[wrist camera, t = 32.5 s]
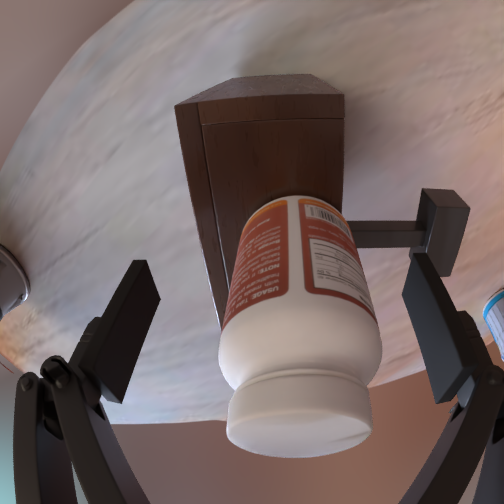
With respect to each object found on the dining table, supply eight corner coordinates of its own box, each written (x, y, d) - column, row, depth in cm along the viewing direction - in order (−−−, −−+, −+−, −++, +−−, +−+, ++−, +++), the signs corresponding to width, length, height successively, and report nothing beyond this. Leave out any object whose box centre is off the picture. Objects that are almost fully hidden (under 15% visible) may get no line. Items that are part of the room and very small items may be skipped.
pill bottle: (252, 286, 20) (226, 462, 11) (231, 198, 16) (168, 397, 7) (351, 278, 18) (378, 456, 10) (351, 186, 15) (419, 386, 6)
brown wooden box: (219, 338, 22) (427, 332, 20) (169, 107, 13) (487, 113, 11) (246, 213, 37) (376, 211, 35) (231, 78, 28) (384, 77, 26)
